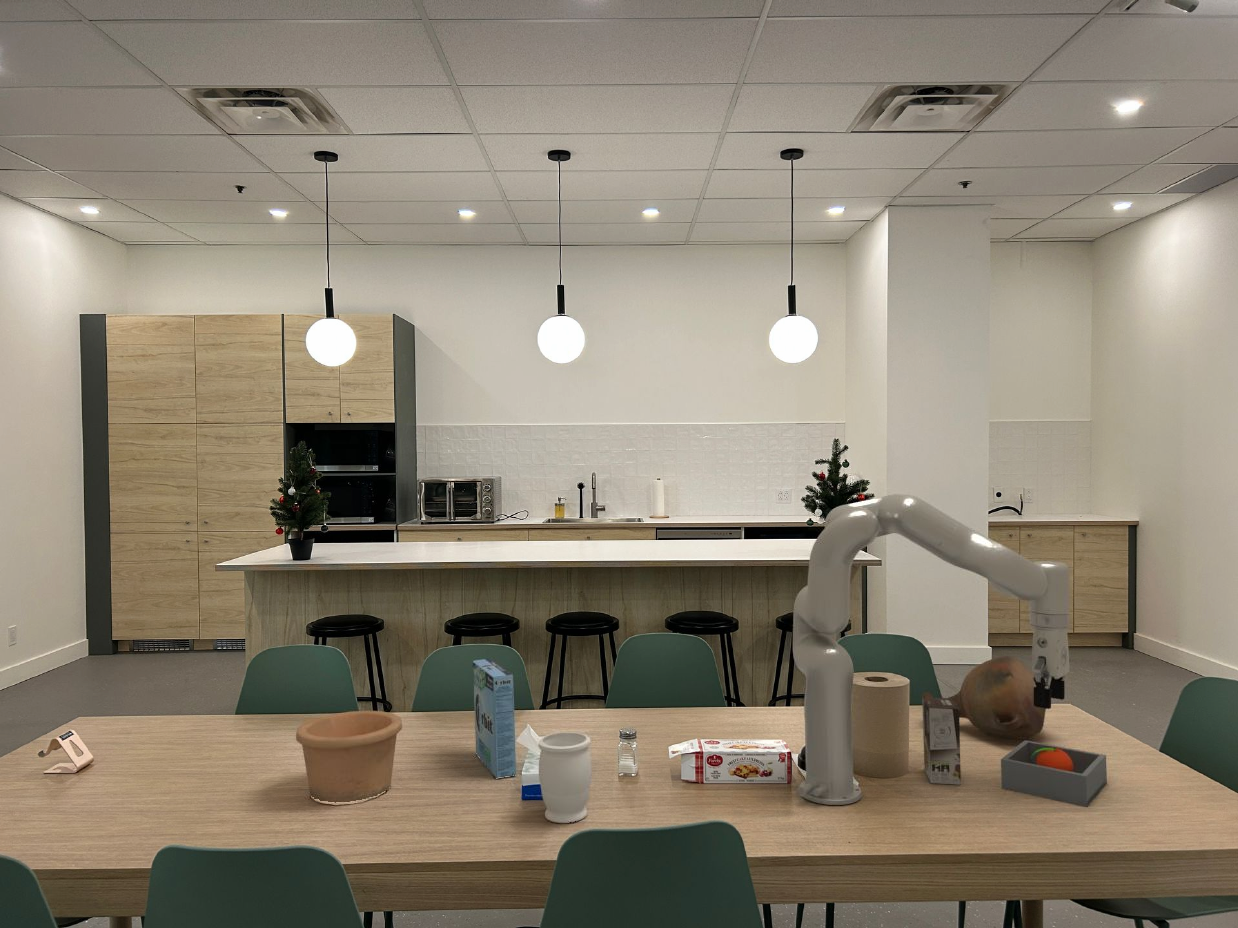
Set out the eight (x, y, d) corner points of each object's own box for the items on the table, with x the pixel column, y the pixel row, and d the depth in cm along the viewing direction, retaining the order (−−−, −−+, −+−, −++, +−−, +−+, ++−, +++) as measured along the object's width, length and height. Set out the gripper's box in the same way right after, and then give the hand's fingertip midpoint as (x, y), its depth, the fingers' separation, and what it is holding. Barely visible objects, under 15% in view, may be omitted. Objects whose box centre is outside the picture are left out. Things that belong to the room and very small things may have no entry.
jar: (572, 830, 160) (570, 751, 161) (528, 819, 166) (527, 742, 166) (602, 810, 169) (601, 735, 170) (560, 801, 175) (559, 728, 175)
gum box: (516, 776, 190) (514, 674, 190) (494, 780, 188) (492, 676, 188) (494, 751, 208) (492, 657, 208) (474, 754, 206) (472, 659, 206)
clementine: (1033, 785, 175) (1033, 751, 175) (1028, 774, 181) (1027, 740, 181) (1077, 789, 172) (1076, 754, 172) (1069, 777, 179) (1069, 743, 179)
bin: (1087, 807, 166) (1086, 776, 166) (1001, 788, 177) (1000, 759, 177) (1106, 783, 178) (1106, 754, 178) (1025, 767, 188) (1024, 740, 188)
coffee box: (962, 785, 179) (960, 708, 179) (930, 783, 180) (928, 707, 180) (954, 770, 188) (952, 697, 188) (923, 768, 189) (921, 696, 189)
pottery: (278, 793, 183) (277, 726, 183) (370, 766, 199) (368, 704, 199) (328, 819, 168) (327, 747, 168) (423, 787, 184) (421, 721, 184)
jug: (1066, 736, 209) (944, 737, 227) (1053, 655, 214) (934, 662, 232) (1046, 740, 194) (916, 740, 212) (1032, 652, 199) (907, 660, 217)
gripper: (1057, 628, 169) (1057, 714, 168) (1080, 617, 181) (1080, 698, 181) (1017, 623, 174) (1017, 707, 173) (1042, 613, 186) (1042, 691, 186)
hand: (1049, 702), depth 177 cm, fingers open, 9 cm apart
